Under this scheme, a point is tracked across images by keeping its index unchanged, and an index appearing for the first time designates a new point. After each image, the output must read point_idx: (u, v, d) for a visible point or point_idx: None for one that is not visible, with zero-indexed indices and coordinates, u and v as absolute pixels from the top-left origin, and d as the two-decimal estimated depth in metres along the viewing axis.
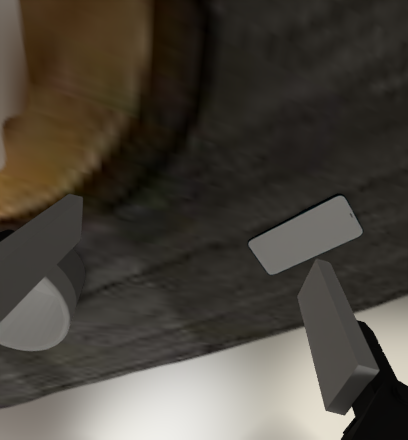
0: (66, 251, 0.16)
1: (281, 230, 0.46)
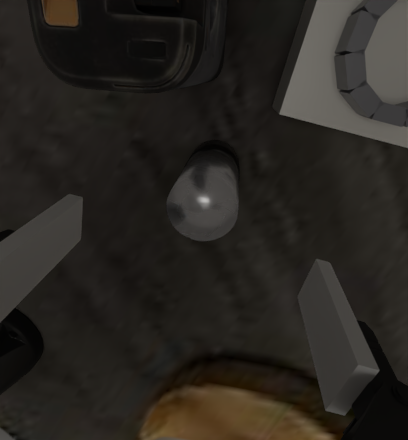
0: (66, 251, 0.16)
1: None
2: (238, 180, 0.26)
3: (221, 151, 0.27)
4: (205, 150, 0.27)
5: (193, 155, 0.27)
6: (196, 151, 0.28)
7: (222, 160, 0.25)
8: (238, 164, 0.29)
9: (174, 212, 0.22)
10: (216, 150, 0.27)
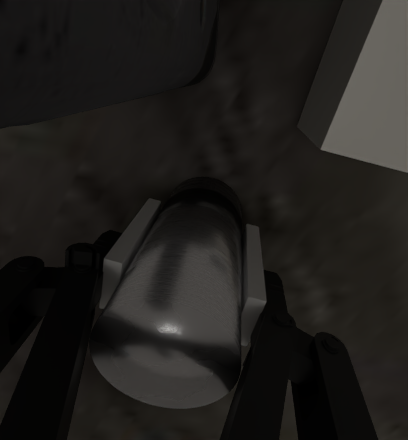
0: None
1: None
2: (241, 261, 0.15)
3: (211, 206, 0.16)
4: (184, 204, 0.16)
5: (163, 212, 0.16)
6: (170, 202, 0.17)
7: (211, 231, 0.13)
8: (241, 220, 0.18)
9: (107, 361, 0.10)
10: (203, 204, 0.15)
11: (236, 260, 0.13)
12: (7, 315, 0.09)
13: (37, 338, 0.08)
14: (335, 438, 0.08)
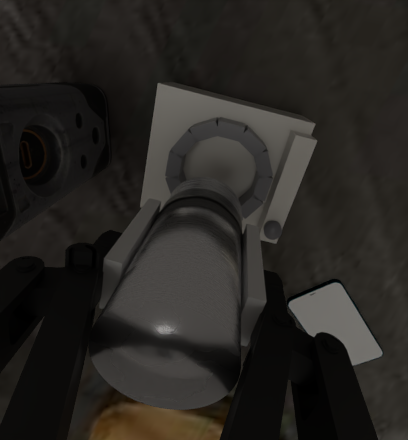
0: None
1: None
2: (240, 262, 0.15)
3: (211, 206, 0.16)
4: (183, 205, 0.16)
5: (163, 212, 0.16)
6: (170, 202, 0.17)
7: (211, 232, 0.13)
8: (240, 220, 0.18)
9: (106, 361, 0.10)
10: (203, 205, 0.15)
11: (236, 260, 0.13)
12: (8, 315, 0.09)
13: (37, 338, 0.08)
14: (335, 438, 0.08)
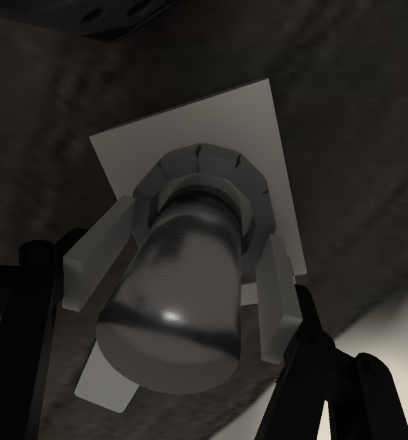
0: (121, 248, 0.17)
1: (88, 375, 0.40)
2: (240, 255, 0.15)
3: (212, 201, 0.16)
4: (185, 200, 0.16)
5: (165, 207, 0.16)
6: (172, 198, 0.17)
7: (212, 225, 0.14)
8: (240, 216, 0.18)
9: (113, 347, 0.11)
10: (204, 200, 0.16)
11: (236, 253, 0.14)
12: None
13: None
14: None
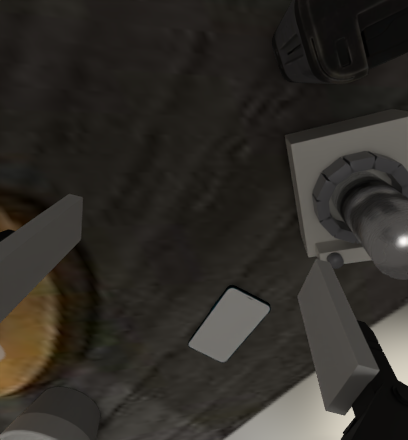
0: (66, 251, 0.16)
1: (206, 328, 0.51)
2: None
3: (390, 185, 0.27)
4: (375, 184, 0.27)
5: (361, 188, 0.27)
6: (358, 183, 0.28)
7: None
8: None
9: (381, 251, 0.22)
10: (386, 184, 0.27)
11: None
12: None
13: None
14: None
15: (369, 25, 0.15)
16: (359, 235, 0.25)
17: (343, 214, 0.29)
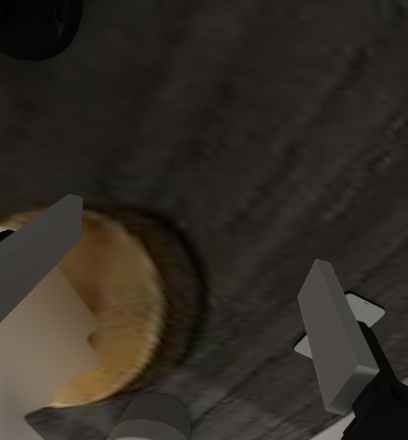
0: (66, 251, 0.16)
1: None
2: None
3: None
4: None
5: None
6: None
7: None
8: None
9: None
10: None
11: None
12: None
13: None
14: None
15: None
16: None
17: None
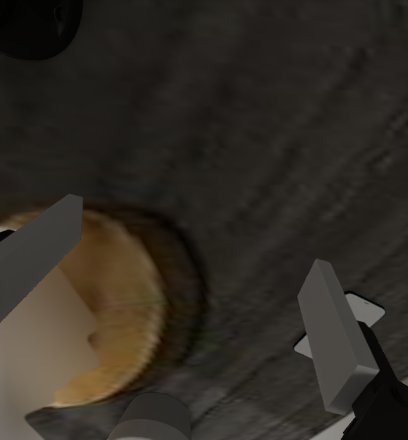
0: (66, 251, 0.16)
1: None
2: None
3: None
4: None
5: None
6: None
7: None
8: None
9: None
10: None
11: None
12: None
13: None
14: None
15: None
16: None
17: None
